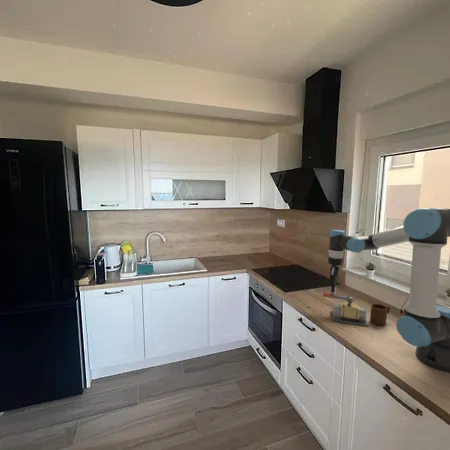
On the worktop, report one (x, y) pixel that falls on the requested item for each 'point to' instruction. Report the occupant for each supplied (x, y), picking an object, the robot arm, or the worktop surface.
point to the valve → (349, 314)
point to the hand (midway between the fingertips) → (332, 296)
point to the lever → (339, 297)
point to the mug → (379, 314)
